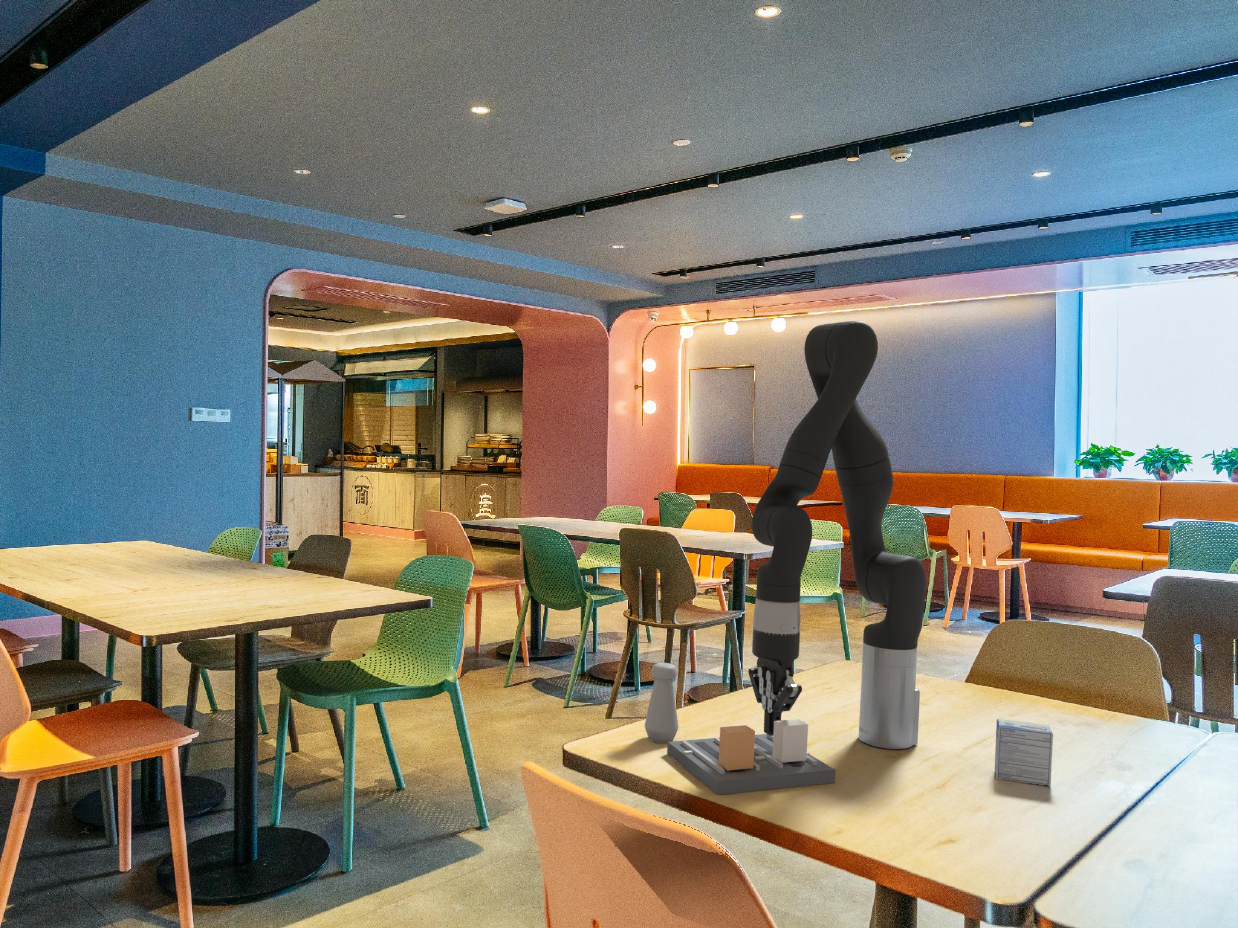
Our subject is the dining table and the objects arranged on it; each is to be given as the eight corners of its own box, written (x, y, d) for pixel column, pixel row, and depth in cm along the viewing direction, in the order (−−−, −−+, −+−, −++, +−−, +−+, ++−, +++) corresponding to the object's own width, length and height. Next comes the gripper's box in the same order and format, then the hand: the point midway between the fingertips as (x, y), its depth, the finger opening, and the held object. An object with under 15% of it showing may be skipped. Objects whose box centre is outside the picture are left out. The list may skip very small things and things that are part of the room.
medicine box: (1047, 778, 141) (1049, 724, 140) (1051, 787, 136) (1053, 732, 136) (993, 770, 143) (996, 717, 143) (995, 779, 139) (998, 724, 139)
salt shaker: (675, 746, 148) (678, 669, 148) (641, 742, 149) (645, 666, 149) (679, 736, 153) (683, 661, 153) (647, 732, 155) (650, 659, 155)
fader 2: (796, 754, 139) (798, 718, 139) (806, 760, 137) (808, 724, 137) (772, 756, 138) (774, 720, 138) (781, 762, 135) (783, 726, 135)
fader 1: (744, 761, 135) (745, 725, 135) (753, 767, 132) (755, 730, 132) (718, 763, 133) (720, 726, 133) (727, 770, 131) (729, 732, 130)
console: (773, 744, 151) (774, 729, 151) (834, 782, 134) (835, 765, 134) (667, 753, 144) (667, 737, 144) (717, 794, 127) (718, 776, 127)
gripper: (820, 634, 138) (815, 745, 138) (774, 619, 150) (769, 720, 150) (778, 636, 135) (773, 749, 135) (735, 620, 147) (731, 723, 147)
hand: (771, 733), depth 142 cm, fingers closed
